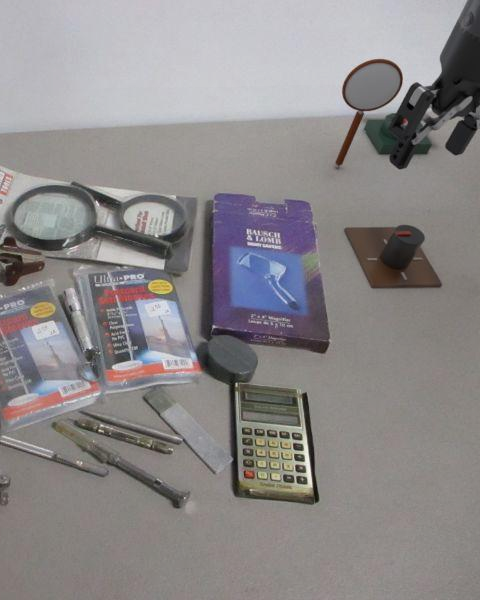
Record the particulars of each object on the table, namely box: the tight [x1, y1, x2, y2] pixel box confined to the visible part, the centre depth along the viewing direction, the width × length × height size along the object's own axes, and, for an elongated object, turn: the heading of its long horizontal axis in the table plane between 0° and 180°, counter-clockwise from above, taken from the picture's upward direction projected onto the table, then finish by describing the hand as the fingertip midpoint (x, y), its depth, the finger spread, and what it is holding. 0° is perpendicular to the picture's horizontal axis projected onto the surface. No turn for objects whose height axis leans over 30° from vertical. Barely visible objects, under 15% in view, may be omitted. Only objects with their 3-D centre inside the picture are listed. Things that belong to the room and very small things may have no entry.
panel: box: [343, 226, 443, 289], centre depth 88 cm, size 10×12×3 cm
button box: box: [363, 112, 433, 155], centre depth 109 cm, size 9×8×4 cm
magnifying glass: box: [334, 58, 404, 169], centre depth 97 cm, size 9×2×20 cm, turn 81°
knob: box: [381, 224, 426, 269], centre depth 85 cm, size 4×4×5 cm
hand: (425, 158), depth 72 cm, fingers open, 8 cm apart
